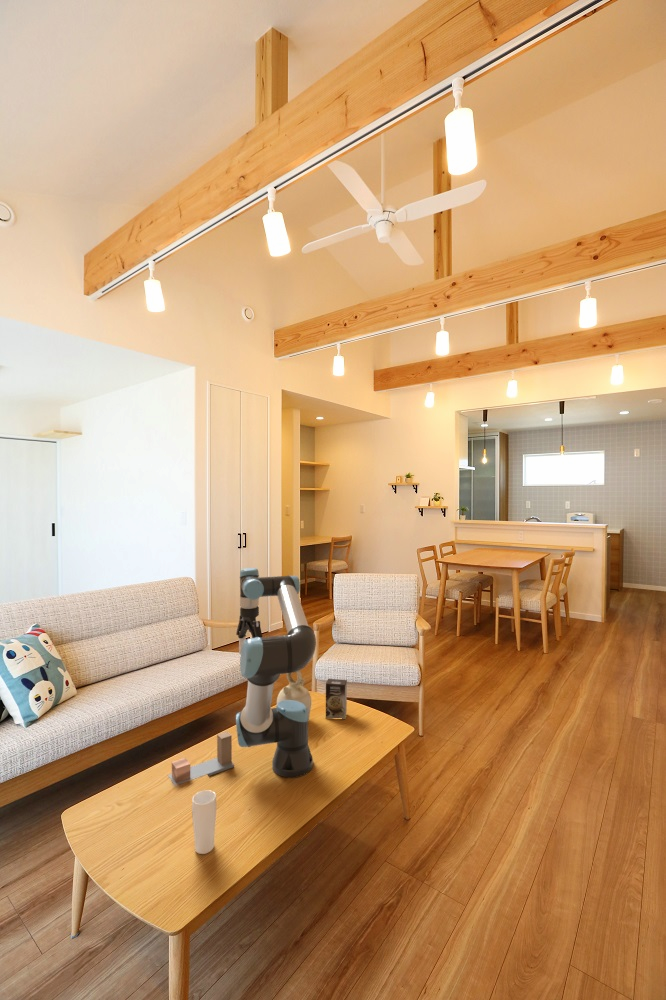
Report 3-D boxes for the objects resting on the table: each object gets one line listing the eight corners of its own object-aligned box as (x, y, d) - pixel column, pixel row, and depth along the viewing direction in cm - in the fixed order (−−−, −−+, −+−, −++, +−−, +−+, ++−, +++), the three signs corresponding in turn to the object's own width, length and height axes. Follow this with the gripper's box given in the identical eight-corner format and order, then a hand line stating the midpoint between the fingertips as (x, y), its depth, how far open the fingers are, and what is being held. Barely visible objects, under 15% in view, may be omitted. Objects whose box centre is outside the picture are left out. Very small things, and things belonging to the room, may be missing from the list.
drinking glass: (195, 840, 140) (194, 790, 140) (218, 839, 141) (218, 789, 141) (190, 858, 134) (189, 805, 133) (214, 856, 134) (214, 804, 134)
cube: (190, 777, 169) (190, 763, 169) (176, 782, 166) (176, 768, 166) (185, 771, 173) (185, 757, 173) (171, 775, 170) (171, 762, 170)
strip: (233, 766, 178) (233, 737, 177) (174, 788, 165) (174, 757, 164) (225, 757, 184) (224, 729, 184) (167, 777, 171) (167, 747, 171)
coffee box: (325, 719, 215) (325, 683, 215) (327, 712, 221) (327, 678, 221) (345, 720, 213) (345, 684, 213) (347, 713, 220) (347, 679, 220)
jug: (299, 711, 222) (299, 658, 222) (318, 724, 210) (318, 668, 209) (270, 721, 213) (270, 665, 213) (288, 735, 201) (288, 676, 200)
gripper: (272, 611, 187) (272, 664, 187) (244, 599, 207) (244, 648, 207) (255, 614, 182) (255, 669, 182) (228, 602, 202) (228, 651, 203)
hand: (249, 658), depth 195 cm, fingers open, 13 cm apart
